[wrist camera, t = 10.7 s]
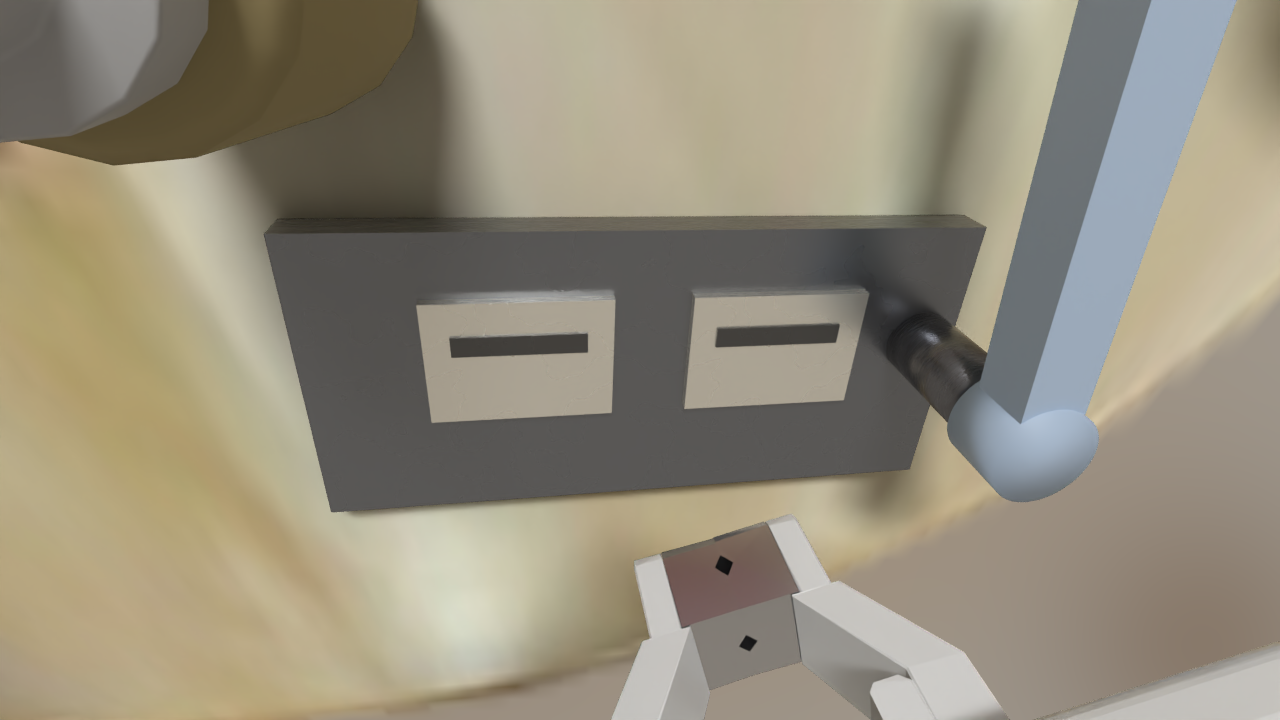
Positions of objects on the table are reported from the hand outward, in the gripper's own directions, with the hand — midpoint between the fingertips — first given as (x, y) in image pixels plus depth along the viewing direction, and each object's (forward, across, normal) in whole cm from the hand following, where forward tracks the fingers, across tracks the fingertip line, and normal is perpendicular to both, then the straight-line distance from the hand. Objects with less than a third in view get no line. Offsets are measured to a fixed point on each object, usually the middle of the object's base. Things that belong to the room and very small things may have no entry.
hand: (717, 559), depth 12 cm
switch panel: (+16, 0, +5) cm, 16 cm away
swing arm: (+9, -13, -2) cm, 16 cm away
